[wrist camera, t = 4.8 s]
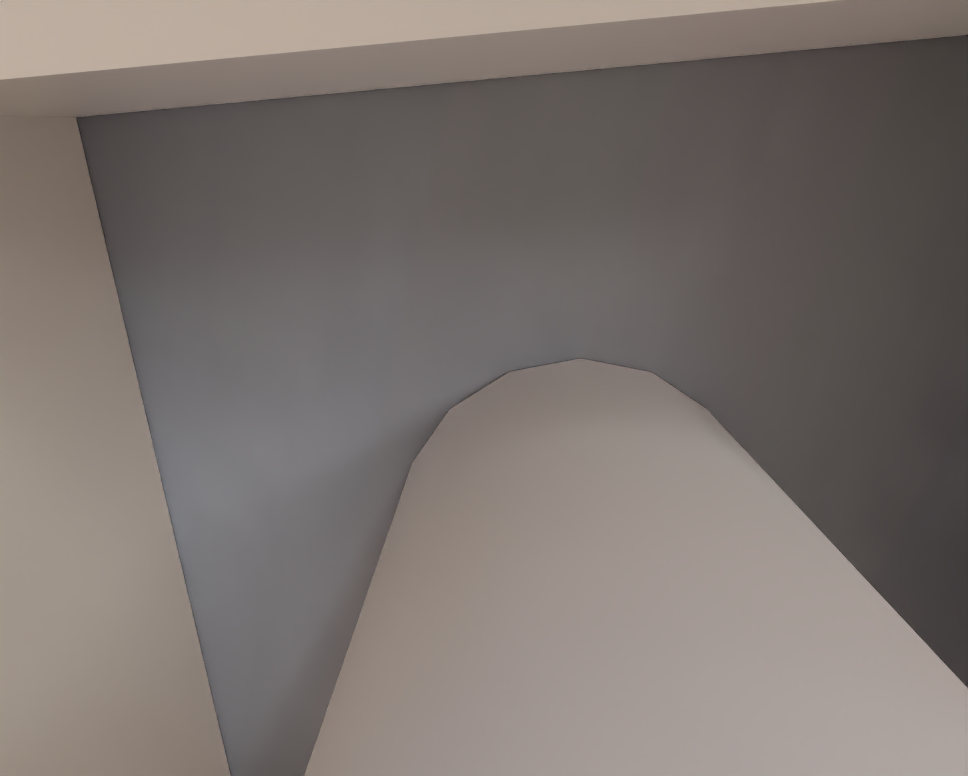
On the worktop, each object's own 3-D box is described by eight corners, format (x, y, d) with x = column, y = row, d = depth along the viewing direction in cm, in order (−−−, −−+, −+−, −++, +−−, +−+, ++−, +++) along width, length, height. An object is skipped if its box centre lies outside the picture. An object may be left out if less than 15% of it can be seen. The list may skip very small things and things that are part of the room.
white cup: (364, 329, 12) (-79, 1056, 3) (800, 331, 12) (1904, 1078, 3) (381, 690, 14) (168, 1807, 5) (752, 692, 14) (1274, 1825, 5)
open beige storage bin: (1161, -49, 10) (1959, -251, 5) (1013, 853, 15) (1317, 1282, 10) (5, 62, 11) (-514, -3, 5) (219, 897, 16) (68, 1326, 10)
